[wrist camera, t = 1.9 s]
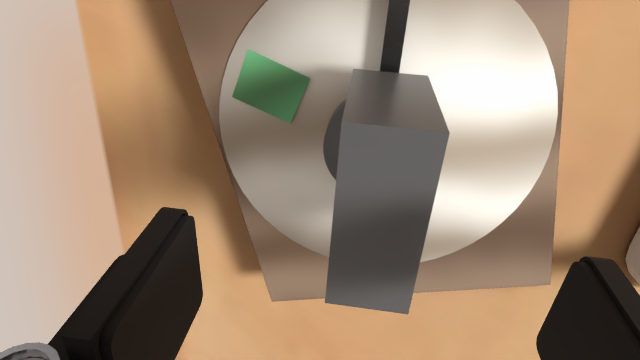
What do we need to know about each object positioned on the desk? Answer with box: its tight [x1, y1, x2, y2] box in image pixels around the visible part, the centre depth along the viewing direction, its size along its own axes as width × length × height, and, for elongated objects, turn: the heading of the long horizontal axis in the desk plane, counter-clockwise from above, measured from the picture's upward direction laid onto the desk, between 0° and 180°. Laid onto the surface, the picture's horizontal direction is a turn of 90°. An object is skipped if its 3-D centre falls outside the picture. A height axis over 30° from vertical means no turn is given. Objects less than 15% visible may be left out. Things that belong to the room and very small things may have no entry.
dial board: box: [171, 0, 569, 301], centre depth 21 cm, size 20×16×3 cm
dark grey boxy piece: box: [323, 0, 450, 314], centre depth 16 cm, size 10×5×7 cm, turn 176°
